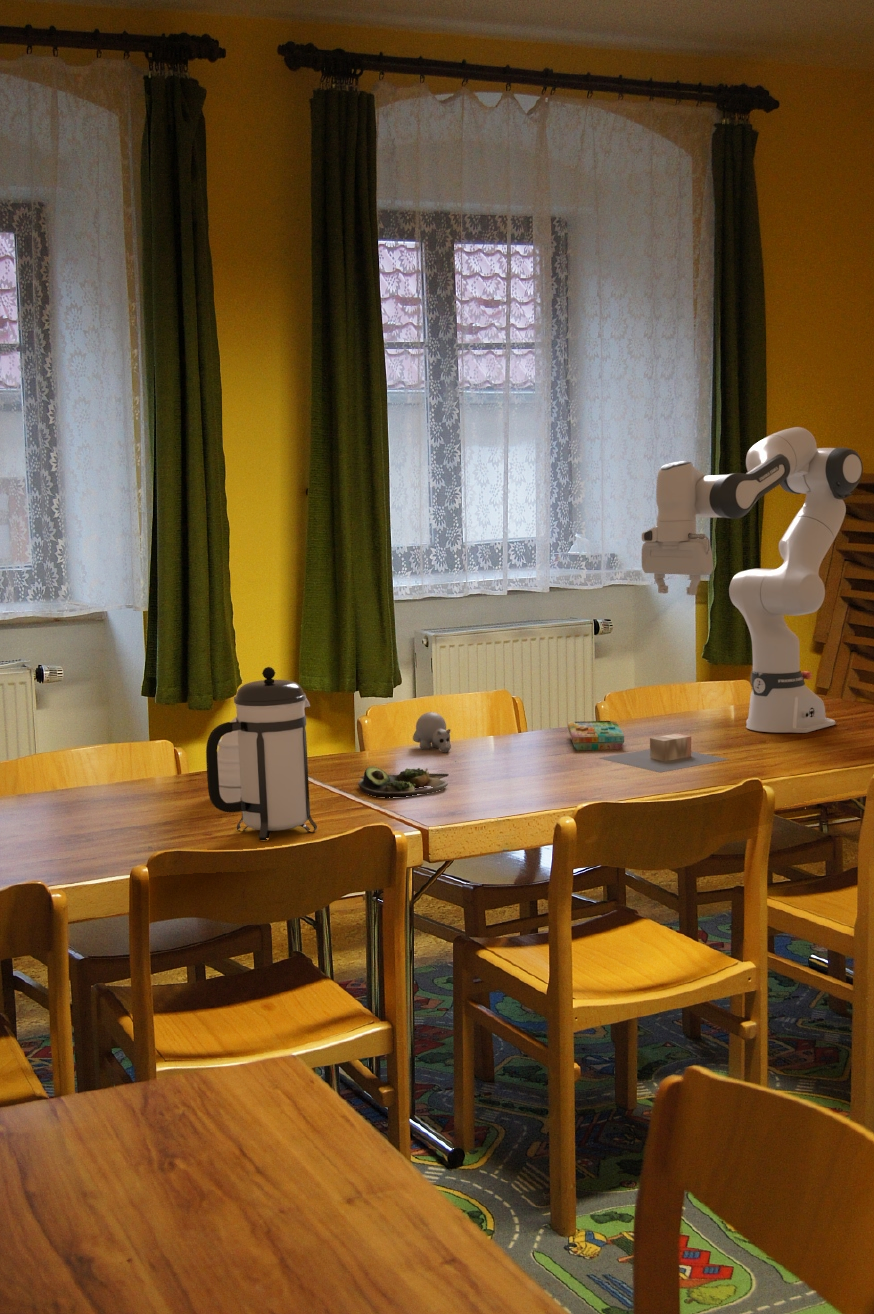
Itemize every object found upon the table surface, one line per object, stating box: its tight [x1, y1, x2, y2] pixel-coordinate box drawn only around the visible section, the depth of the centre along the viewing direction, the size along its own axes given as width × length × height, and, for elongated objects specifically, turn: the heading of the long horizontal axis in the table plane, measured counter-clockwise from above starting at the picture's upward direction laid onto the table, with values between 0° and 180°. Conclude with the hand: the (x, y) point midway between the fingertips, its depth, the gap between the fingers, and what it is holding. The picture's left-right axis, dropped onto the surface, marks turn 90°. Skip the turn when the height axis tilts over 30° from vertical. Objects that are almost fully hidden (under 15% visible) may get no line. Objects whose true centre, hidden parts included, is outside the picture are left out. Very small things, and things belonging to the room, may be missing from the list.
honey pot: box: [217, 715, 241, 803], centre depth 261 cm, size 13×13×18 cm
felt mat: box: [599, 748, 730, 773], centre depth 284 cm, size 20×20×1 cm
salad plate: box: [357, 766, 450, 799], centre depth 266 cm, size 19×18×5 cm
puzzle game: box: [567, 720, 625, 751], centre depth 305 cm, size 12×5×20 cm
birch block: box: [649, 733, 692, 761], centre depth 285 cm, size 4×4×8 cm
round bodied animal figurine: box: [412, 711, 452, 753], centre depth 304 cm, size 7×12×8 cm, turn 30°
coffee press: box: [205, 666, 318, 841], centre depth 231 cm, size 17×16×30 cm
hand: (677, 594), depth 295 cm, fingers open, 8 cm apart
